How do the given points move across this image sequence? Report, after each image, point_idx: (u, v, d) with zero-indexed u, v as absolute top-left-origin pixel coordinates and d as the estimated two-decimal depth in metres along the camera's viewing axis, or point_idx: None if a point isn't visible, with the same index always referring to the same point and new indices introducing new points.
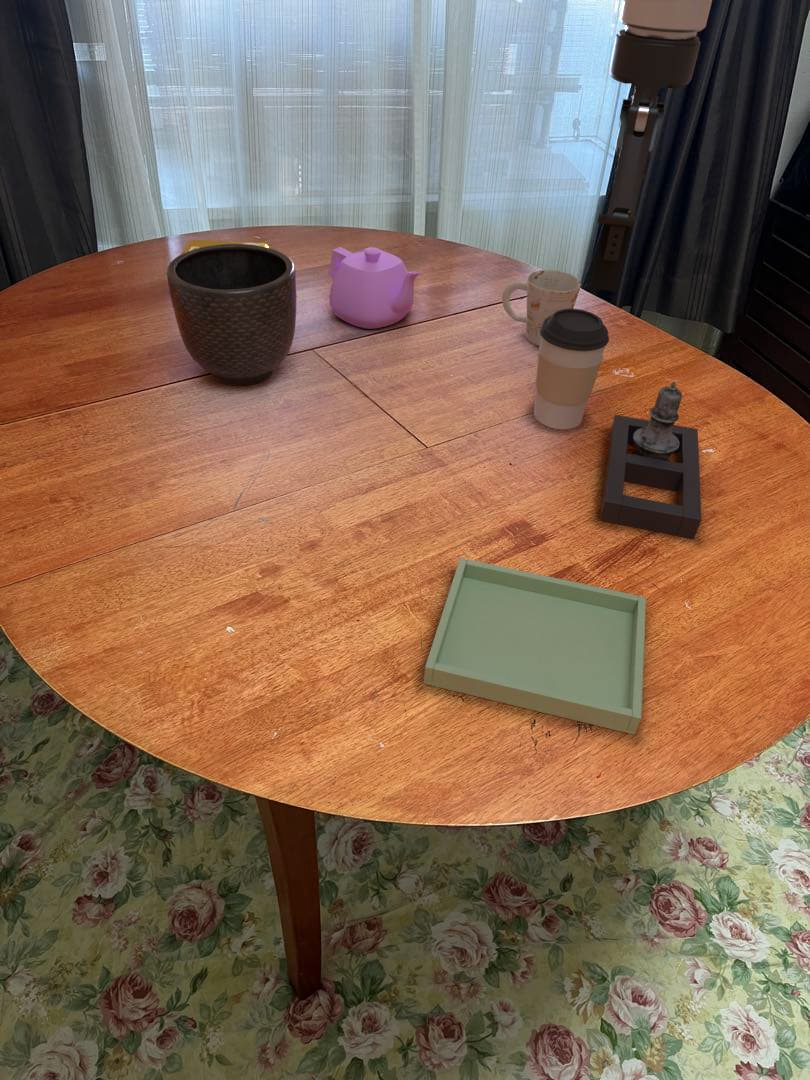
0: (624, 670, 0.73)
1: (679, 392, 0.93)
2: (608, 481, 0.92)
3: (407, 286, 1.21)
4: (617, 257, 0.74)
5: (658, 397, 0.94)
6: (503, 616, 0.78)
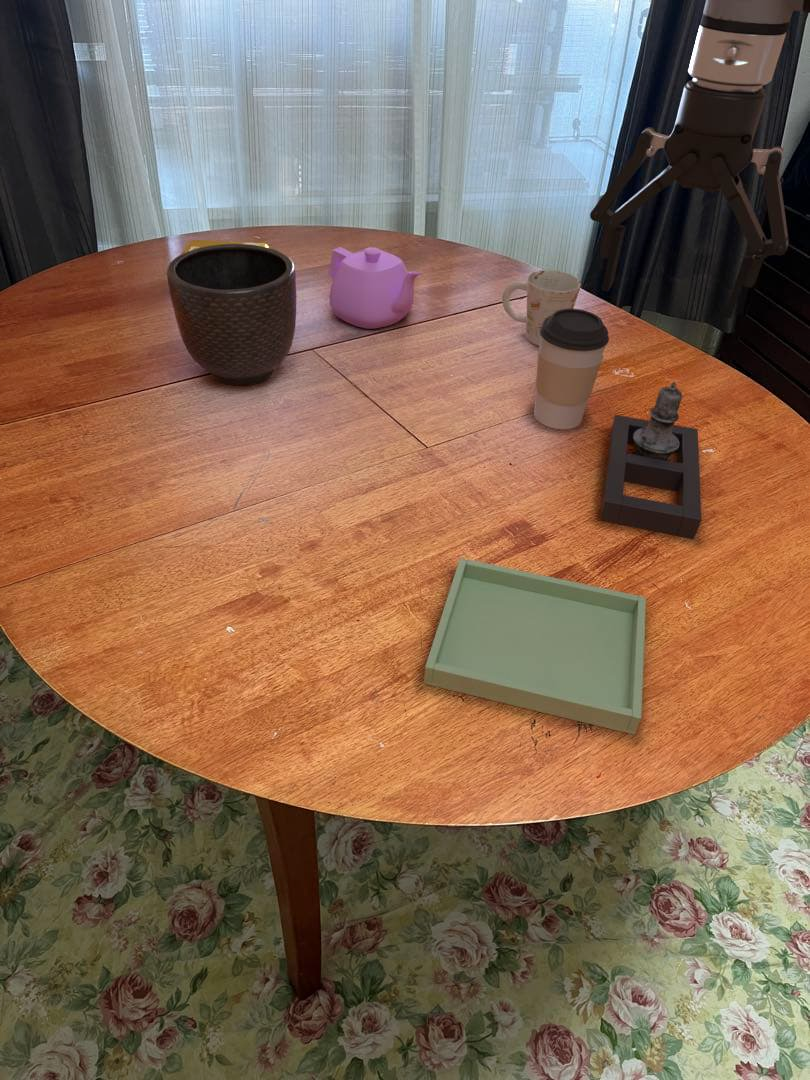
0: (624, 670, 0.73)
1: (679, 392, 0.93)
2: (608, 481, 0.92)
3: (407, 286, 1.21)
4: None
5: (658, 397, 0.94)
6: (503, 616, 0.78)
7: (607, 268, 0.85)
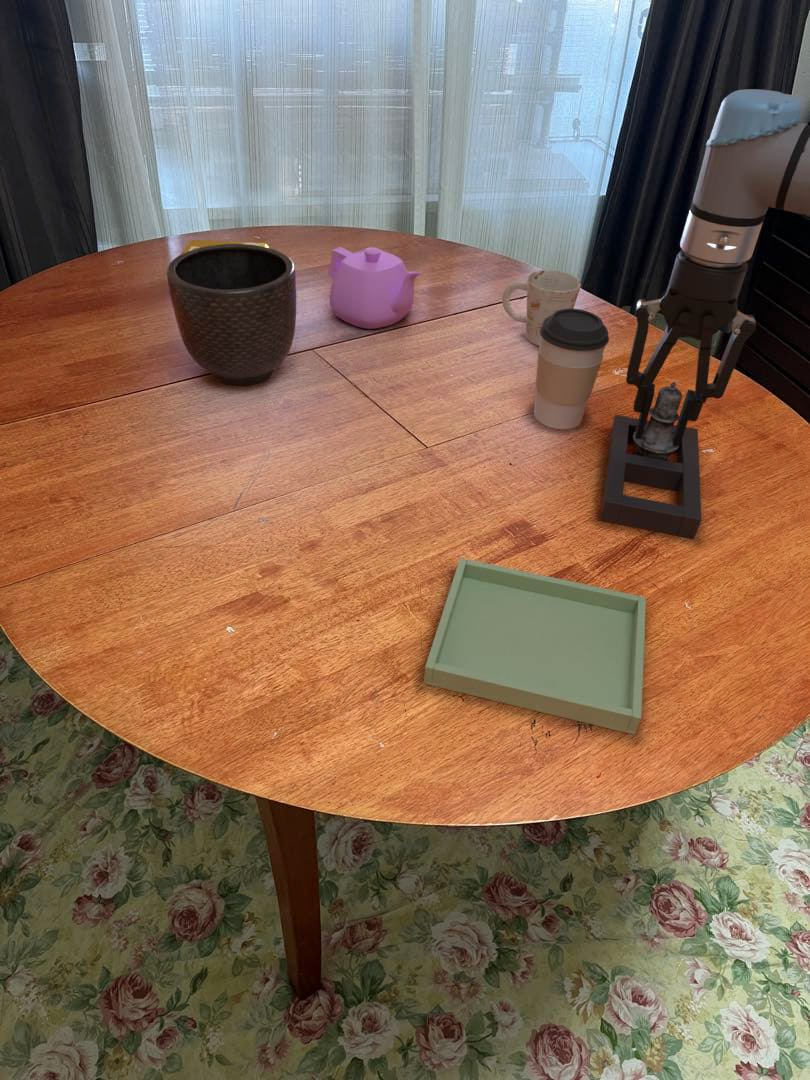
0: (624, 670, 0.73)
1: (679, 392, 0.93)
2: (608, 481, 0.92)
3: (407, 286, 1.21)
4: None
5: (658, 397, 0.94)
6: (503, 616, 0.78)
7: (641, 421, 0.96)
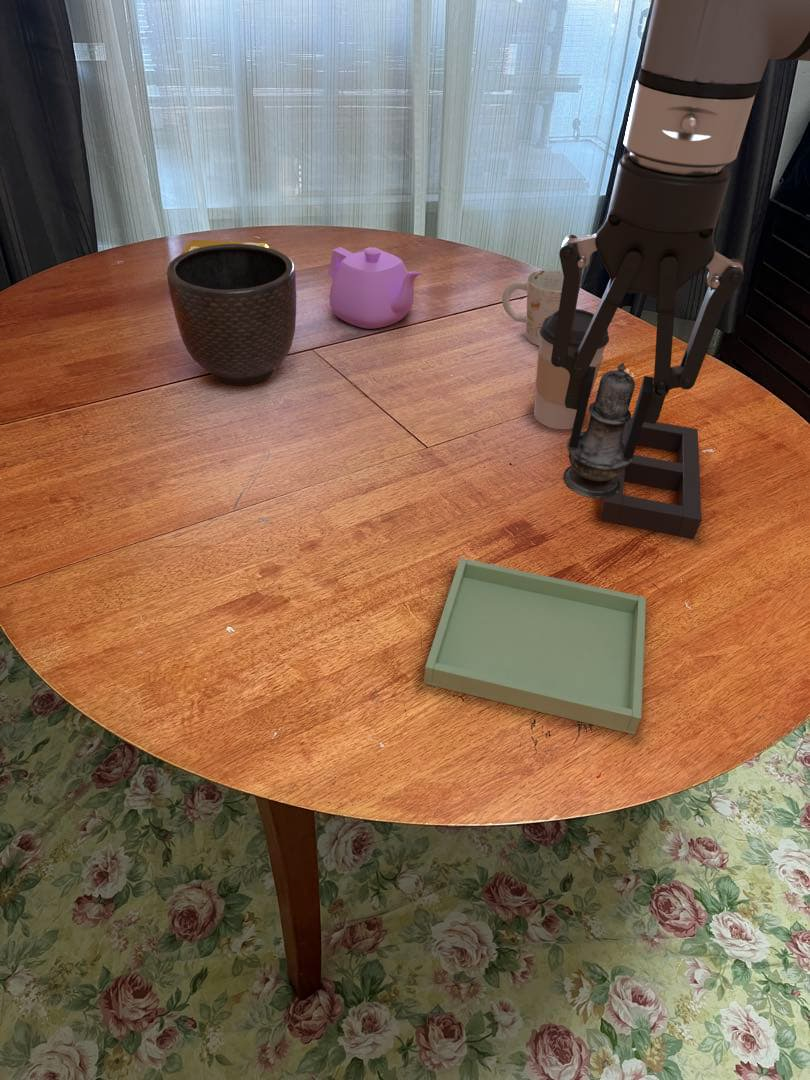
0: (624, 670, 0.73)
1: (630, 379, 0.62)
2: None
3: (407, 286, 1.21)
4: None
5: (600, 386, 0.63)
6: (503, 616, 0.78)
7: (576, 422, 0.65)
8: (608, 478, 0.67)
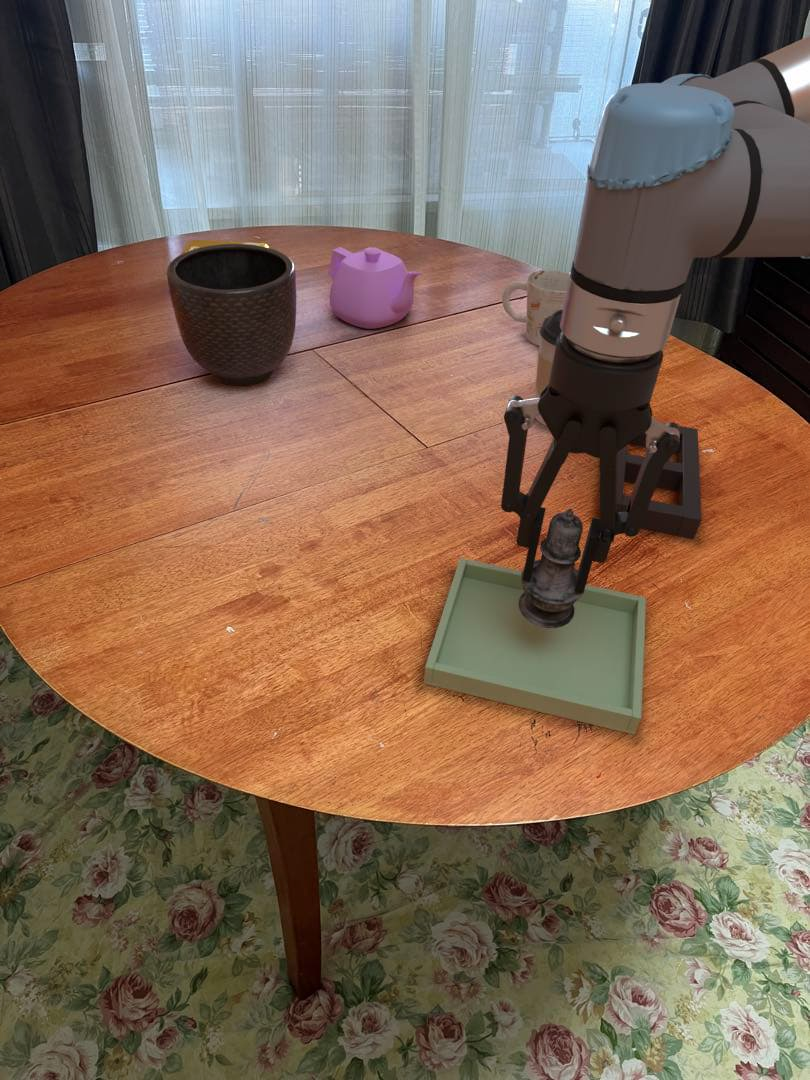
0: (624, 670, 0.73)
1: (578, 523, 0.65)
2: None
3: (407, 286, 1.21)
4: None
5: (549, 528, 0.65)
6: (503, 616, 0.78)
7: (528, 559, 0.67)
8: (561, 610, 0.69)
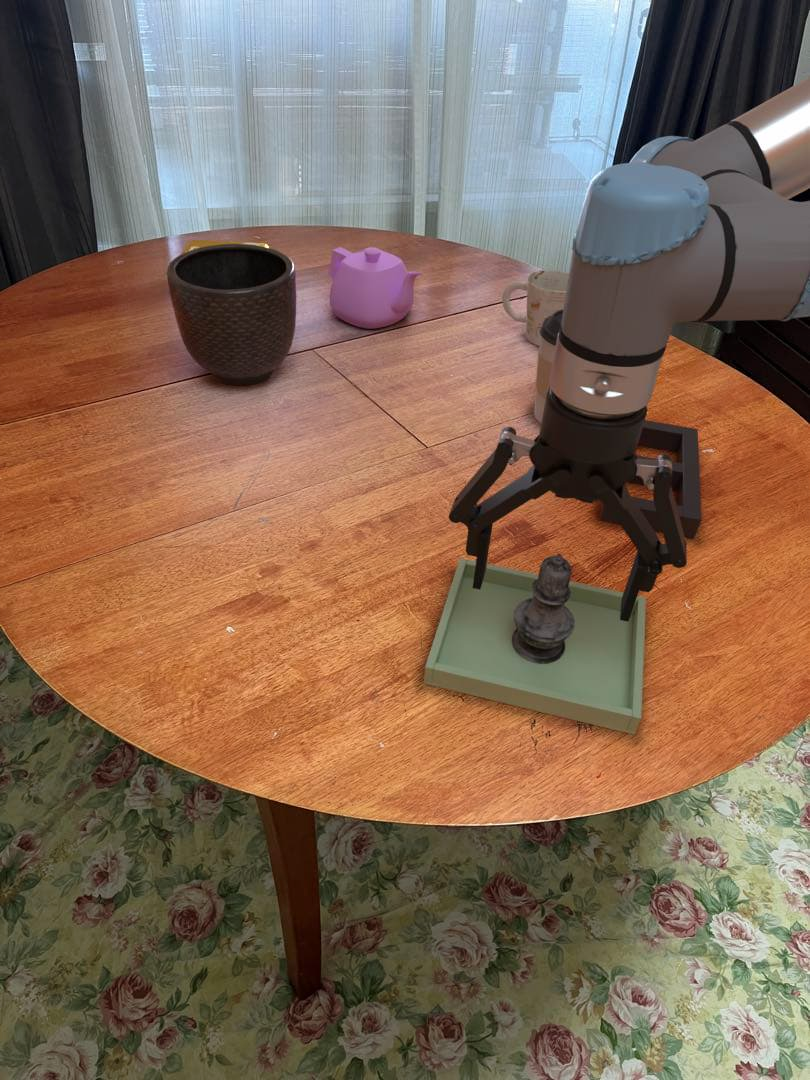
0: (624, 670, 0.73)
1: (567, 567, 0.68)
2: None
3: (407, 286, 1.21)
4: None
5: (540, 571, 0.69)
6: (503, 616, 0.78)
7: (477, 568, 0.69)
8: (551, 647, 0.72)
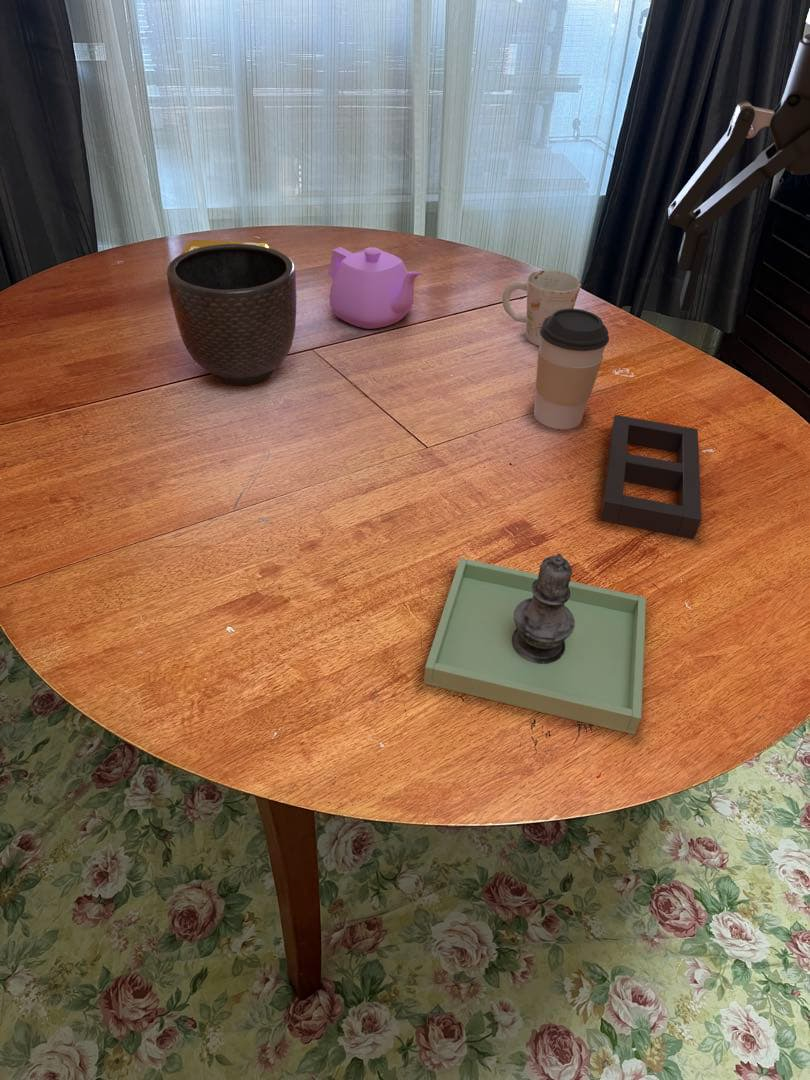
0: (624, 670, 0.73)
1: (567, 567, 0.68)
2: (608, 481, 0.92)
3: (407, 286, 1.21)
4: None
5: (540, 571, 0.69)
6: (503, 616, 0.78)
7: (690, 282, 0.68)
8: (551, 647, 0.72)
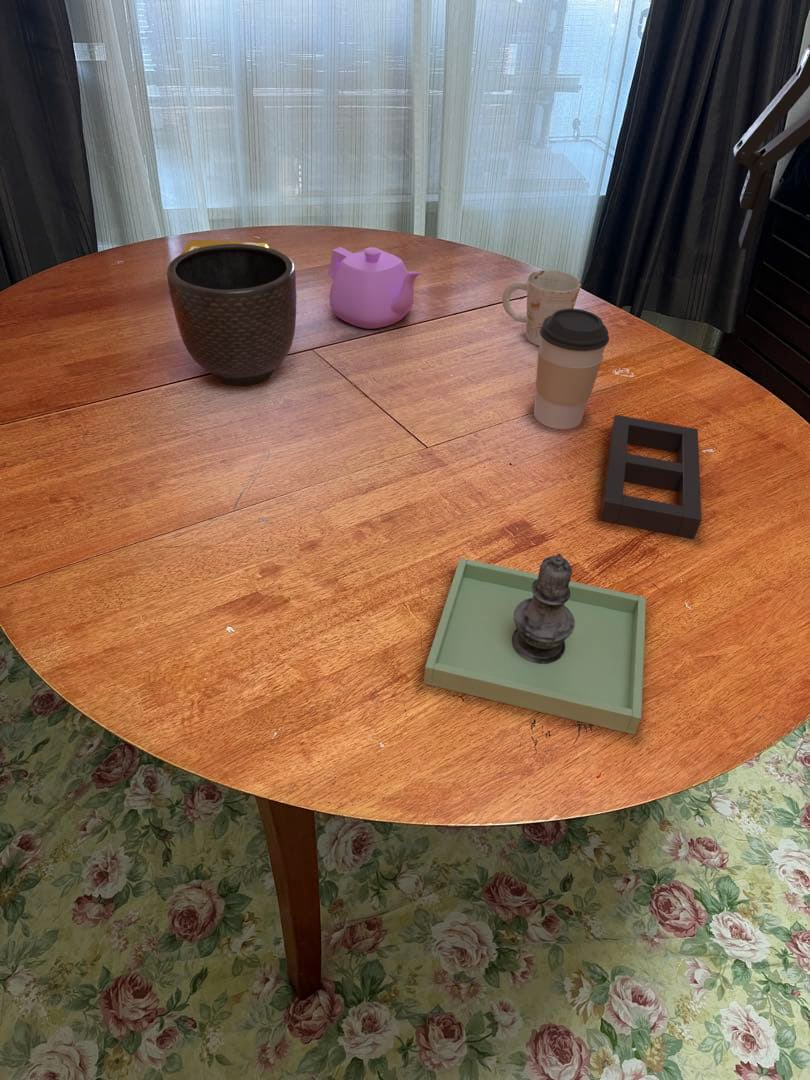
0: (624, 670, 0.73)
1: (567, 567, 0.68)
2: (608, 481, 0.92)
3: (407, 286, 1.21)
4: None
5: (540, 571, 0.69)
6: (503, 616, 0.78)
7: (751, 221, 0.71)
8: (551, 647, 0.72)
